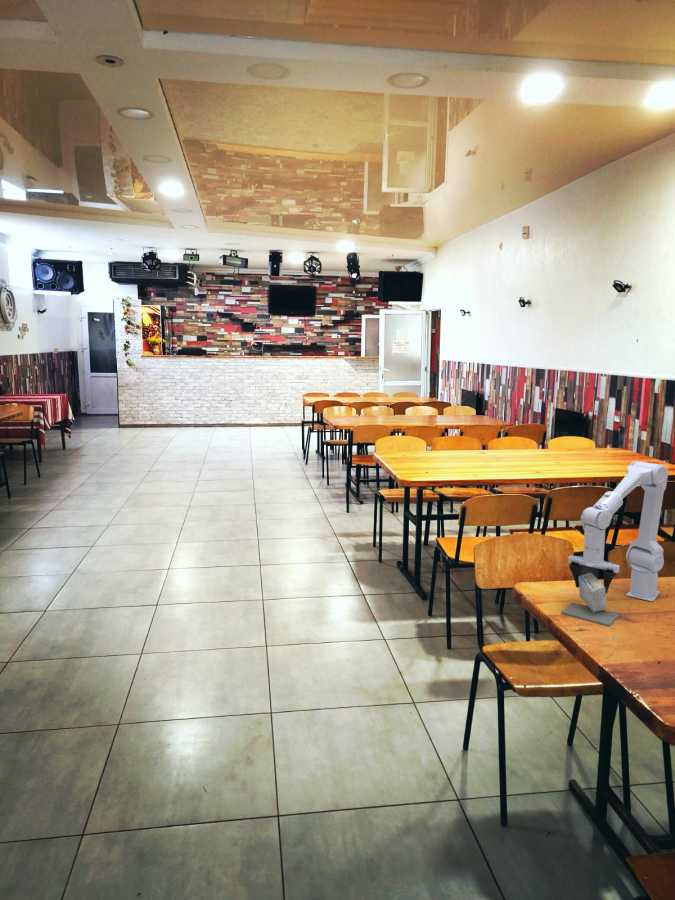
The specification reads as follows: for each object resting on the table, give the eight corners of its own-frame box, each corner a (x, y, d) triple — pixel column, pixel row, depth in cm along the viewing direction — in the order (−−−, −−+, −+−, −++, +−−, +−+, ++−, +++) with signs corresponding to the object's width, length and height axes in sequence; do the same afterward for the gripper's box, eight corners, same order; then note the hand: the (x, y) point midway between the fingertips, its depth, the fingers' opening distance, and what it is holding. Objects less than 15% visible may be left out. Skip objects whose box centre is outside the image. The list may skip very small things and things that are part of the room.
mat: (571, 604, 188) (571, 602, 188) (618, 616, 179) (619, 614, 178) (561, 613, 181) (561, 611, 181) (609, 626, 172) (609, 624, 172)
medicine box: (607, 609, 180) (606, 586, 176) (593, 613, 180) (592, 591, 176) (592, 593, 187) (591, 571, 183) (579, 597, 187) (577, 575, 183)
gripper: (565, 545, 182) (562, 587, 184) (615, 555, 173) (612, 599, 175) (573, 540, 187) (571, 581, 189) (622, 549, 178) (619, 592, 180)
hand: (591, 589), depth 182 cm, fingers open, 7 cm apart
